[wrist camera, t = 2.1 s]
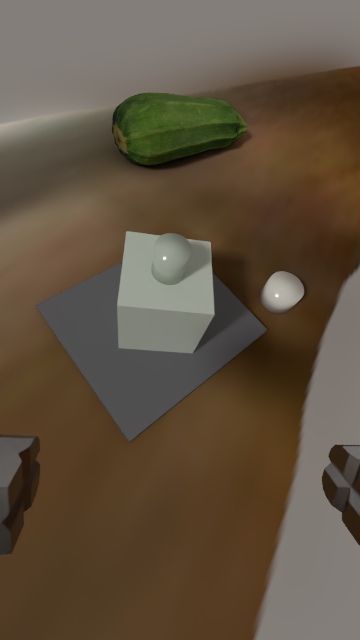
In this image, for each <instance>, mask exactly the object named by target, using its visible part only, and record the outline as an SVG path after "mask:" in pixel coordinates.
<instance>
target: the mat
mask: <svg viewBox="0 0 360 640" xmlns="http://www.w3.org/2000/svg"><path fill="white" fill-rule="evenodd" d="M122 263H123V262H122ZM122 263H120V264H118V265H116V266H114V267H112V268H110V269H108V270H106V271H104V272H102V273H100V274H98V275H96V276H94V277H92V278H90V279H88V280H86V281H84V282H82V283H80V284H78V285H76V286H73V287H71V288H69V289H67V290H65V291H63V292H61V293H59V294H57V295H55V296H53V297H51V298H49V299H47V300H45V301H43V302H41V303H39V304H37V305H36V307H37V309H38V310H39V312H40V313H41V315H42V316H43V318H44V319H45V321H46V322H47V323H48V325H49V326H50V328H51V329H52V331H53V332H54V334H55V335H56V337H57V338H58V339H59V341H60V342H61V344H62V345H63V347H64V348H65V350H66V351H67V352H68V354H69V355H70V357H71V358H72V360H73V361H74V363H75V364H76V366H77V367H78V368H79V370H80V371H81V373H82V374H83V376H84V377H85V379H86V380H87V382H88V383H89V384H90V386H91V387H92V389H93V390H94V392H95V393H96V395H97V396H98V398H99V399H100V400H101V402H102V403H103V405H104V406H105V408H106V409H107V411H108V412H109V413H110V415H111V416H112V418H113V419H114V421H115V422H116V424H117V425H118V427H119V428H120V429H121V431H122V432H123V434H124V435H125V437H126V438H127V440H128V441H129V442H131V441H132V440H133V439H134V438H136V437H137V436H138V435H139V434H141V433H142V432H143V431H144V430H146V429H147V428H148V427H149V426H150V425H152V424H153V423H154V422H155V421H157V420H158V419H159V418H160V417H162V416H163V415H164V414H165V413H166V412H168V411H169V410H170V409H171V408H173V407H174V406H175V405H176V404H178V403H179V402H180V401H181V400H183V399H184V398H185V397H186V396H187V395H189V394H190V393H191V392H192V391H194V390H195V389H196V388H197V387H199V386H200V385H201V384H202V383H204V382H205V381H206V380H207V379H208V378H210V377H211V376H212V375H213V374H215V373H216V372H217V371H218V370H220V369H221V368H222V367H223V366H225V365H226V364H227V363H228V362H229V361H231V360H232V359H233V358H234V357H236V356H237V355H238V354H239V353H241V352H242V351H243V350H244V349H246V348H247V347H248V346H249V345H250V344H252V343H253V342H254V341H255V340H257V339H258V338H259V337H260V336H262V335H263V334H264V333H265V332H266V331H267V329H266V328H265V327H264V326H263V324H262V323H261V322H260V321H259V320H258V319H257V318H256V317H255V316H254V315H253V314H252V313H251V312H250V311H249V310H248V309H247V308H246V307H245V306H244V305H243V304H242V303H241V301H240V300H239V299H238V298H237V297H236V296H235V295H234V294H233V293H232V292H231V291H230V290H229V289H228V288H227V287H226V286H225V285H224V284H223V283H222V282H221V281H220V280H219V279H218V277H217V276H216V275H215V274H214V273H213V272H212V277H213V295H214V313H215V315H214V316H213V318H212V320H211V322H210V324H209V325H208V327H207V329H206V331H205V332H204V334H203V336H202V338H201V340H200V341H199V343H198V345H197V347H196V348H195V350H194V352H193V353H179V352H165V351H151V350H137V349H123V348H119V346H118V318H117V302H118V294H119V286H120V279H121V271H122Z"/></svg>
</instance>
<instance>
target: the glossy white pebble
mask: <svg viewBox="0 0 360 640" xmlns="http://www.w3.org/2000/svg"><path fill="white" fill-rule="evenodd" d="M303 295H304V287H303V285H302V283H301V281H300V280H299V279H298V278H297V277H296V276H294V275H293V274H291V273H288V272H283V271H281V272H276V273H274V274H273V275H272V276H271V277H270V279H269V280H268V281H267V283H266V284H265V285H264V287H263V288H262V289H261V291H260V301H261V303H262V304H263V306H264V307H265V308H266V309H267V310H269V311H270V312H272V313H275V314H284V313H287V312H288V311H289V310H290V309H291V308H292V307H293V306H294V305H295V304H296V303H297V302H298V301H299V300H300V299H301V298H302V297H303Z"/></svg>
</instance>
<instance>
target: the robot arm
mask: <svg viewBox="0 0 360 640" xmlns="http://www.w3.org/2000/svg"><path fill="white" fill-rule="evenodd" d="M39 451H40V440H39V438H38V437H37V436H23V435H3V434H0V555H11V554H12V551H13V549H14V547H15V544H16V542H17V540H18V537H19V535H20V532H21V530H22V528H23V525H24V512H25V511H27V510H28V509H29V508H30V507H31V506H32V503H33V501H34V498H35V496H36V492H37V488H38V484H39V478H40V464H39V463H38V461H37V460H36V457H37V455H38V453H39ZM329 458H330V461H331V463H330V464H329V465H328V466H327V467H326V468H325V469H324V472H323V476H322V484H323V490H324V492H325V495H326V497H327V499H328V500H329V502H330V503H331V505H332V506H334V507H335V508H336V509H338V510H339V511H340V512H342V521H343V522H344V524H345V525H346V527H347V528H348V530H349V531H350V533H351V534H352V535H353V537H354V539H355V540H356V541H357V543H358V544H359V545H360V445H334V447H332V448H331V450H330V453H329Z"/></svg>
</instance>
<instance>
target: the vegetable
mask: <svg viewBox="0 0 360 640" xmlns="http://www.w3.org/2000/svg"><path fill="white" fill-rule="evenodd" d="M246 127H247V124H246V123H245V122H244V119H243V118H241V117H240V116H239V114H238V113H237V111H236V110H235V109H234V108H233V107H231V106H230V104H229V103H228V102H226V101H225V100H222V99H215V98H202V97H190V96H181V95H174V94H168V93H143V94H138V95H135V96H132V97H129V98H128V99H126V100H125V101H124V102H122V103H121V104H120V105H119V106H118V107H117V108H116V110H115V112H114V114H113V127H112V133H113V135H114V139H115V144H116V145H117V146H118V148H119V150H120V152H121V154H122V155H124V156H125V157H126V158H127V160H129V161H130V162H131V163H134V164H137V165H155V164H161V163H164V162H167V161H171V160H174V159H177V158H181V157H185V156H189V155H193V154H197V153H200V152H203V151H206V150H210V149H217V148H225V147H228V146H229V145H230V144H231V143H232V142H233V141H234V140H237V139H238V138H240V137H242V136H243V134H244V132H246Z"/></svg>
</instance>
